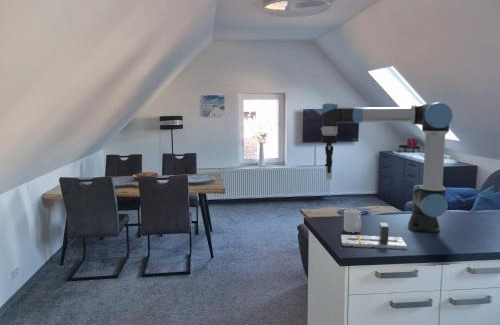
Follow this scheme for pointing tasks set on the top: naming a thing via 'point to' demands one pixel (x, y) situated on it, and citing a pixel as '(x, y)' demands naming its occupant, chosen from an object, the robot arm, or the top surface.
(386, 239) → the fader tab
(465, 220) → the top surface
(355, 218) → the mug
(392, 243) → the fader console
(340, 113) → the robot arm
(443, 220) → the top surface
